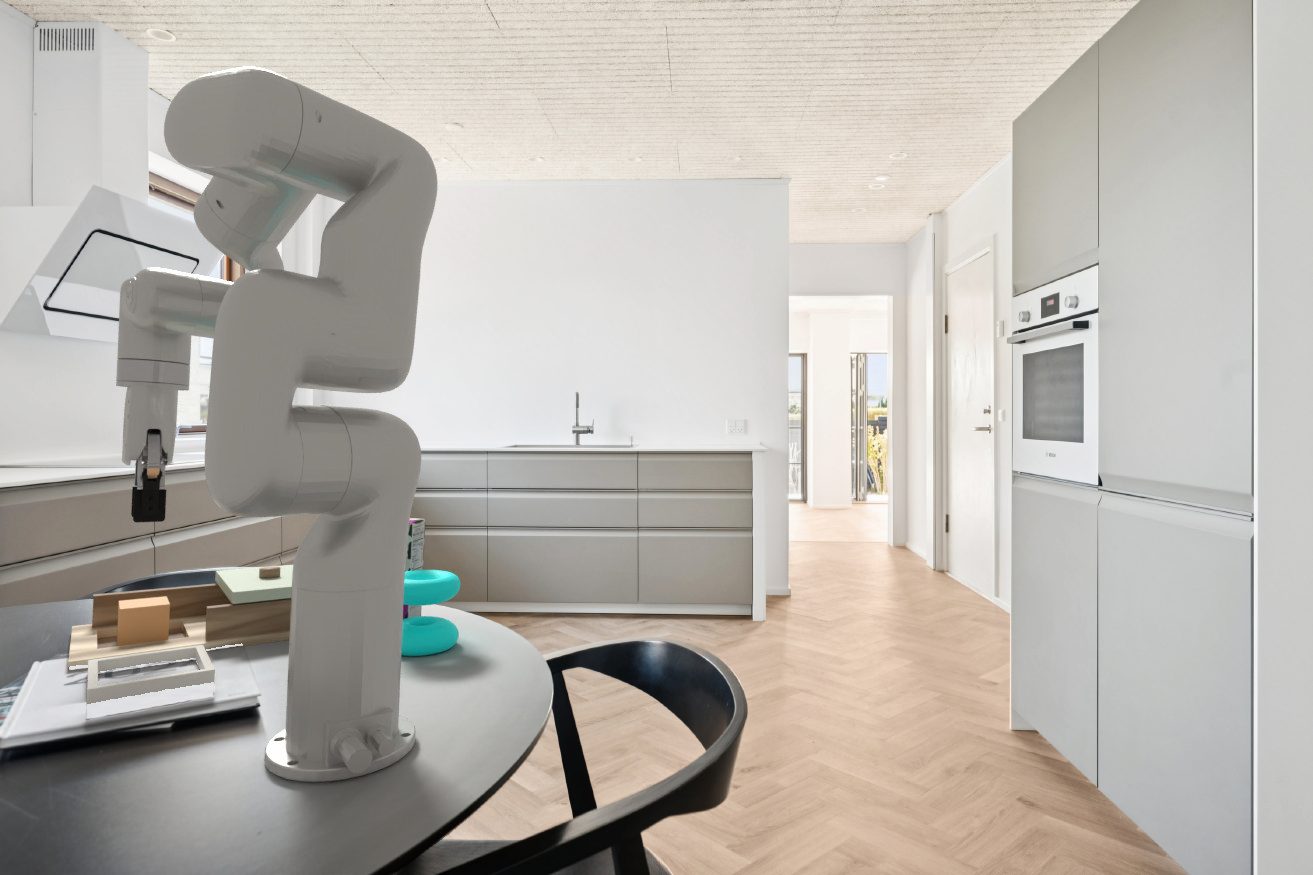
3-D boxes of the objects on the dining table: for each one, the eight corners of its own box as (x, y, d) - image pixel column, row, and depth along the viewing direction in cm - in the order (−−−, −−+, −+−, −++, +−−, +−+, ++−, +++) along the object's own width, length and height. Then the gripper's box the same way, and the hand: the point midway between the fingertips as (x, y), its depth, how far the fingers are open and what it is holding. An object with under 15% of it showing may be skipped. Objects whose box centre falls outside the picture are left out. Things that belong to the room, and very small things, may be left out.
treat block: (168, 643, 86) (169, 604, 86) (118, 649, 83) (119, 609, 83) (164, 633, 90) (166, 596, 90) (117, 639, 87) (118, 600, 87)
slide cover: (326, 594, 93) (326, 574, 93) (232, 604, 86) (233, 582, 86) (299, 573, 105) (299, 556, 105) (215, 580, 98) (216, 562, 98)
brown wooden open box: (328, 644, 93) (330, 596, 93) (67, 684, 75) (69, 625, 75) (299, 616, 106) (301, 574, 106) (71, 645, 88) (73, 594, 88)
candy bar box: (336, 626, 101) (340, 517, 101) (354, 617, 106) (358, 514, 106) (407, 631, 100) (412, 521, 100) (422, 622, 105) (426, 517, 105)
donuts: (414, 565, 99) (474, 571, 97) (412, 633, 99) (472, 641, 97) (368, 578, 90) (433, 585, 87) (365, 653, 90) (430, 662, 87)
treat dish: (213, 696, 73) (214, 669, 73) (86, 719, 67) (87, 689, 67) (201, 669, 81) (202, 644, 81) (87, 687, 75) (88, 659, 75)
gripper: (114, 377, 91) (109, 513, 90) (118, 370, 78) (111, 529, 77) (182, 382, 95) (177, 511, 95) (196, 376, 82) (190, 525, 82)
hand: (147, 517), depth 86 cm, fingers open, 4 cm apart
